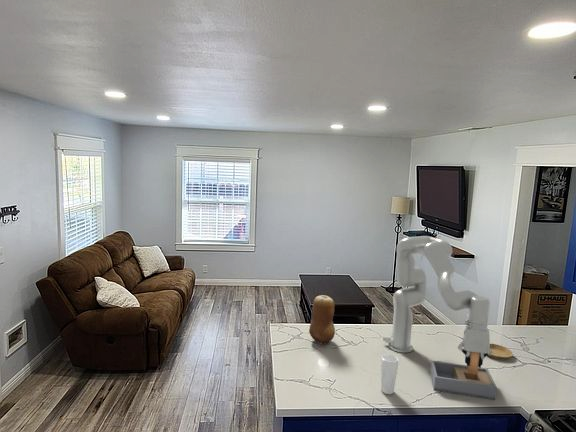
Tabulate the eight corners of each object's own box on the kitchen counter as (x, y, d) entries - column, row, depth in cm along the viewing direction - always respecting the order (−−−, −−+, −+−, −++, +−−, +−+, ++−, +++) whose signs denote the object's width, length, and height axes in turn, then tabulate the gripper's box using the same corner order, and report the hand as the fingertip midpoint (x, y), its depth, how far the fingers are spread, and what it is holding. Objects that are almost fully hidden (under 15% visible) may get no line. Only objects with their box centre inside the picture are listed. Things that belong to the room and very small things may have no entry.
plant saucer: (518, 361, 199) (519, 356, 199) (492, 362, 197) (493, 357, 197) (498, 347, 214) (499, 342, 213) (474, 348, 211) (474, 343, 211)
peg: (468, 373, 171) (470, 351, 170) (466, 369, 175) (468, 347, 173) (478, 375, 170) (480, 353, 169) (476, 370, 174) (478, 348, 173)
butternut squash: (338, 341, 213) (341, 296, 210) (327, 350, 202) (329, 303, 198) (315, 334, 220) (318, 290, 217) (303, 342, 209) (305, 297, 206)
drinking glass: (377, 386, 171) (379, 354, 169) (392, 386, 171) (395, 354, 169) (382, 396, 164) (384, 362, 162) (397, 396, 165) (400, 362, 163)
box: (433, 390, 170) (435, 377, 169) (430, 372, 185) (431, 360, 184) (494, 400, 165) (496, 386, 164) (486, 381, 179) (487, 368, 178)
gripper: (458, 326, 168) (454, 366, 170) (501, 331, 164) (496, 372, 166) (455, 319, 175) (451, 358, 178) (496, 324, 171) (492, 364, 174)
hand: (473, 365), depth 172 cm, fingers closed on peg, 4 cm apart
